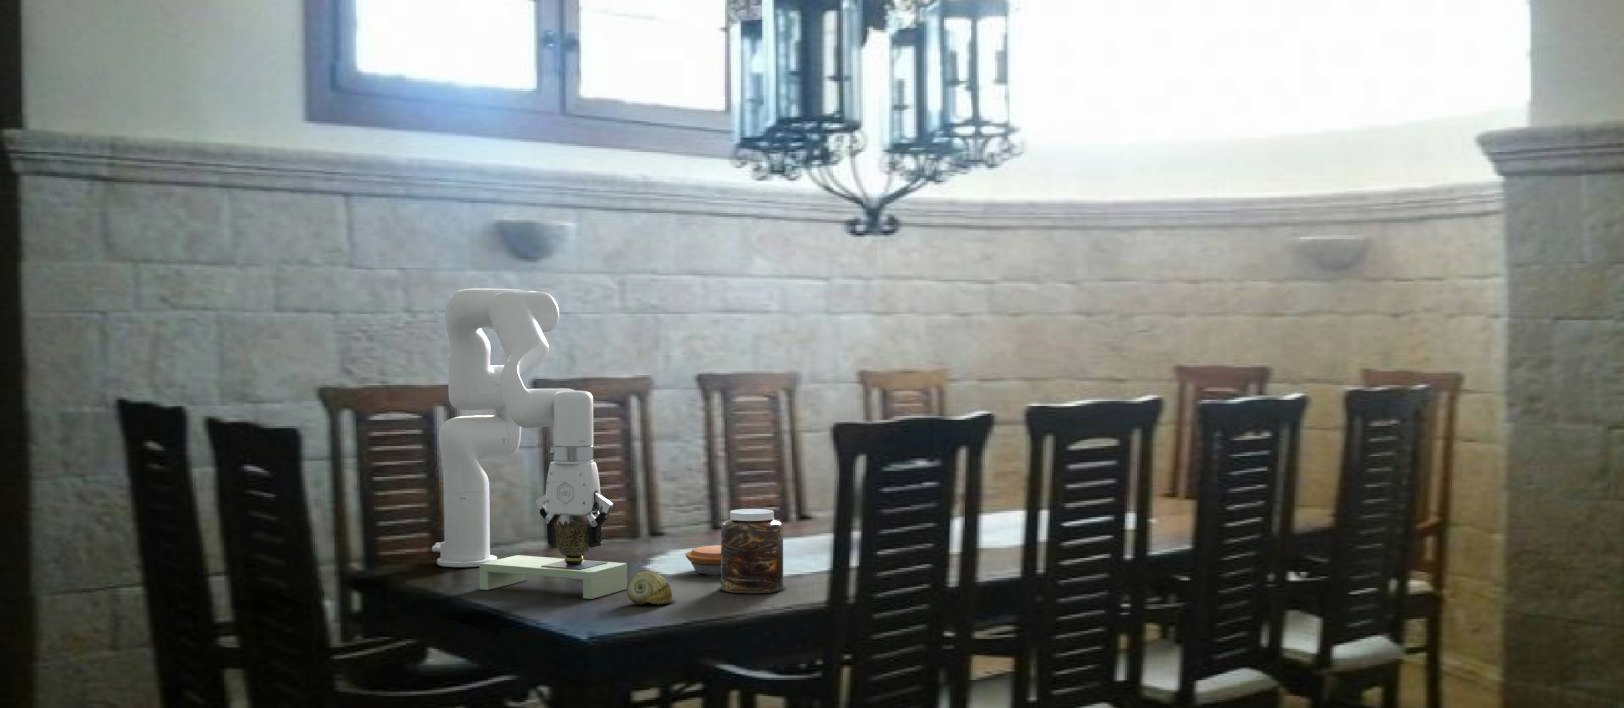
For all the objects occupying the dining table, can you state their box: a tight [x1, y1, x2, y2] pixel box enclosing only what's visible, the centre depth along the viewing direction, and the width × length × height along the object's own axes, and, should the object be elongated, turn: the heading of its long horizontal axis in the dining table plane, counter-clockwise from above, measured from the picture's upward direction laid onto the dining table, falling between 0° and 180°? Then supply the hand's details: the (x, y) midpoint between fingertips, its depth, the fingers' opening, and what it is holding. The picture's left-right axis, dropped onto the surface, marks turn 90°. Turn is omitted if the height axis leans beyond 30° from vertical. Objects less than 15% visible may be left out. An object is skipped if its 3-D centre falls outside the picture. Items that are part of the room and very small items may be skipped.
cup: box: [554, 519, 591, 565], centre depth 291 cm, size 8×7×8 cm
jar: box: [720, 508, 784, 595], centre depth 292 cm, size 12×12×15 cm
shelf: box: [478, 554, 628, 600], centre depth 293 cm, size 26×12×5 cm, turn 64°
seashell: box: [626, 570, 673, 606], centre depth 277 cm, size 10×7×8 cm
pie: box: [684, 544, 721, 576], centre depth 314 cm, size 15×16×5 cm
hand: (574, 544), depth 291 cm, fingers open, 8 cm apart
